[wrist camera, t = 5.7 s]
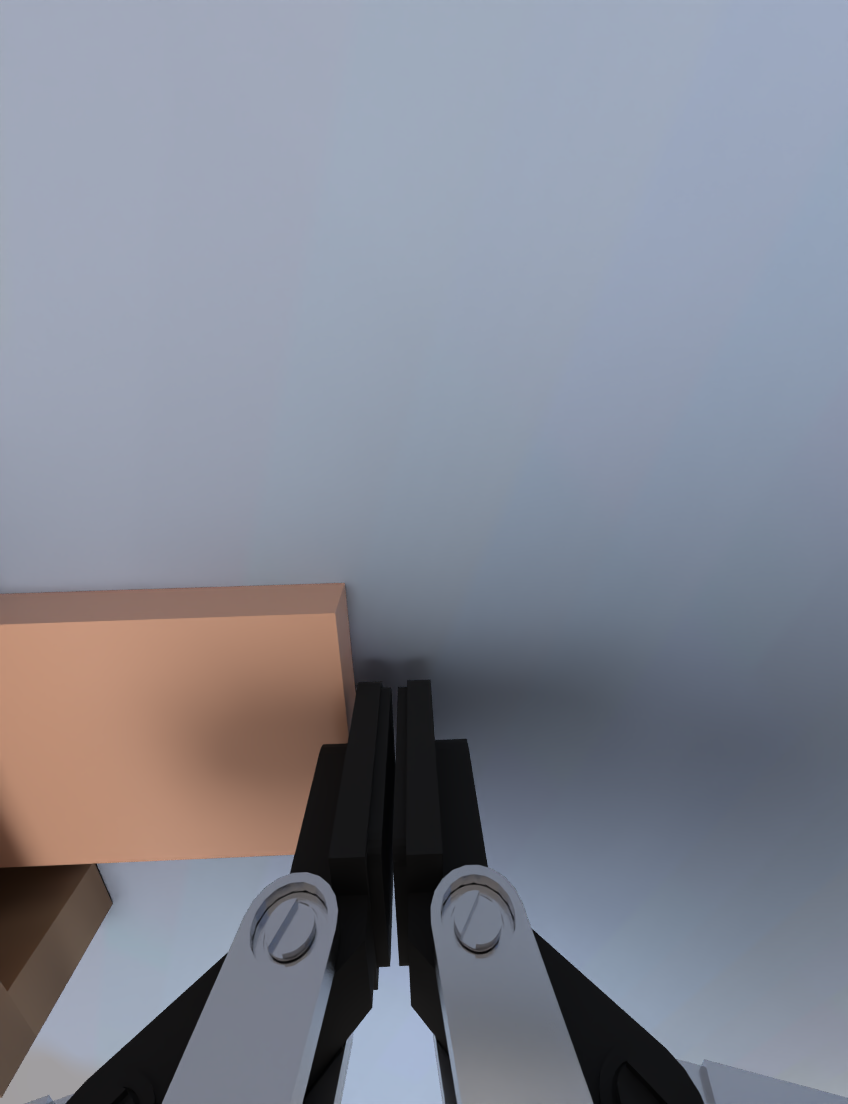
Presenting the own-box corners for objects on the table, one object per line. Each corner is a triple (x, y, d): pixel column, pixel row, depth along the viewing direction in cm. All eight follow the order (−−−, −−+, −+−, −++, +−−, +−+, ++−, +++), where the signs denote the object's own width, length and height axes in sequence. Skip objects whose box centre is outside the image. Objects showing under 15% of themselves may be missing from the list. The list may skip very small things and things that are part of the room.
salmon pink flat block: (348, 571, 11) (334, 615, 9) (368, 784, 13) (361, 855, 11) (-117, 587, 10) (-240, 635, 8) (-5, 800, 13) (-78, 875, 11)
